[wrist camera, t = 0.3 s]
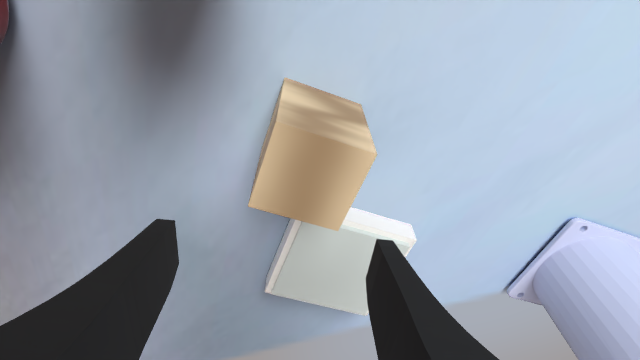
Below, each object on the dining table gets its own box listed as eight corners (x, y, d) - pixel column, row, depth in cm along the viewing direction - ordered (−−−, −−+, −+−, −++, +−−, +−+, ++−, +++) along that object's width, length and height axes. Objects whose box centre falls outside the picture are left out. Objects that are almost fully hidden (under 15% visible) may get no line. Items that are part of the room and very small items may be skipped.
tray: (411, 224, 25) (418, 244, 24) (364, 298, 29) (367, 320, 28) (301, 192, 24) (300, 210, 22) (267, 275, 28) (264, 296, 26)
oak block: (360, 104, 21) (377, 154, 16) (331, 168, 23) (338, 231, 18) (284, 77, 20) (276, 121, 15) (262, 147, 22) (248, 206, 17)
